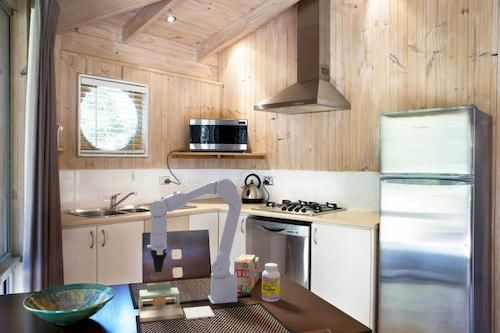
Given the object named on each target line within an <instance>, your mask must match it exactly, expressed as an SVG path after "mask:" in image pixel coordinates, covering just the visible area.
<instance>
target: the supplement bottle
mask: <svg viewBox="0 0 500 333" xmlns="http://www.w3.org/2000/svg"><path fill="white" fill-rule="evenodd" d="M278 268H279V267H278V264H277V263H273V262H268V263H265V264H264V269H265V270H263V271H262V273H261V276H262V277H261V299H262V300H263V301H265V302H267V303H268V302H269V303H273V302H278V301H279V300H280V298H281V297H280V292H281V287H280V286H281V273H280V272H279V270H278Z"/></svg>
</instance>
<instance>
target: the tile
mask: <svg viewBox="0 0 500 333" xmlns="http://www.w3.org/2000/svg"><path fill="white" fill-rule="evenodd" d="M182 311H183V314H184V316H185V318H186V320H187V321H188V320H200V319H199V318H201V319H209V318H208V317H211V318H215V317H216V315H215V313H214V312H213V310H212V308H211V307H210V305H205V306H194V307H184V308H183V307H182Z"/></svg>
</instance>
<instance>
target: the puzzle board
mask: <svg viewBox="0 0 500 333" xmlns="http://www.w3.org/2000/svg"><path fill="white" fill-rule="evenodd" d="M167 303H173V304H167ZM144 305H151V306H144ZM138 311H139V312H138V313H139V315H138V316H139V323H145V322H155V321H164V320H174V319H175V320H176V319H183V318H184V316H185V314H184V311H183V308H182V305H181V304H180V302H179V303H177V301H176V298H175V296H172V297H171V296H170V297H166V305H162V306H153V298H146V299H145V298H144V299H142V307H140V302H139V301H138Z"/></svg>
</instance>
